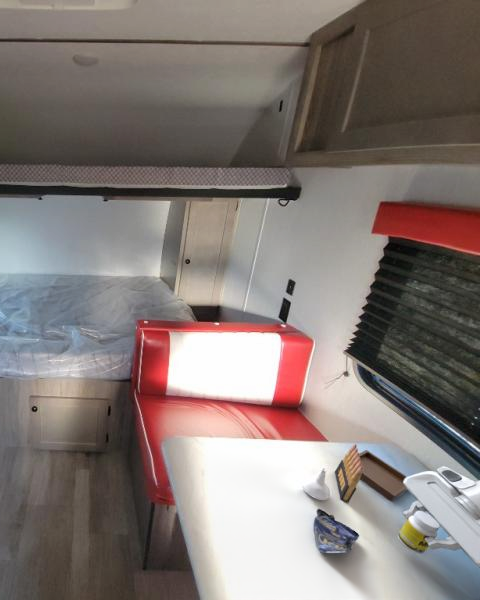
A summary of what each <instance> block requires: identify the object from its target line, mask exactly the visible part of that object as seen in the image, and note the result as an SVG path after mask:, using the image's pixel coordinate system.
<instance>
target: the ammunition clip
mask: <svg viewBox="0 0 480 600" xmlns="http://www.w3.org/2000/svg"><path fill="white" fill-rule="evenodd" d="M359 453H360V452H359V450H358V448H357V444H353V445H352V446H351V447H350V449H349V450H348V452H347V453H346V454H345V456H344V458H343V459H341V460H340V462H339V464H338V466H337V467H336V469H335V470H334V475H335V481H336V486H337V490H338V494H339V499H340V500H341V501H344V502H345V503H348V504H349V503H350V501H351V499H352V498H353V496H354V495H355V492H356V490H357V486H358V483H359V482H360V480H361V479H360V477H361V475H362V472H363V466H362V462H361V461H360V460H361V459H360V457H359Z"/></svg>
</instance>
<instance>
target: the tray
mask: <svg viewBox="0 0 480 600" xmlns="http://www.w3.org/2000/svg"><path fill="white" fill-rule="evenodd" d="M358 453H359V457H360V459H361V460H360V461H361V462H362V466H363V472H362V475H361V477H360V480H361V481H362V482H364V483H365V484H366V485H368V486H369V487H371V488H372V489H373V490H375V491H376V492H378V493H379V494H381V495H382V496H383V497H384V498H385V499H387V500H388V501H390V502H393V501H394V500H396V499H397V498H398V497H400V496H402V495H403V494H404V493H406V492H407V491H408V490H407V488H406V487H405V485H404V484H403V481H404V479H405V478H406V477H408V476H407V475H406V474H404V473H403V472H401V471H399V470H398V469H397V468H395V467H393V466H392V465H390V464H389V463H388V462H386V461H384V460H383V459H381V458H380V457H378V456H377V455H375V454H374V453H372V452H371V451H369V450H368V449H365V450H364V451H362V452H358Z"/></svg>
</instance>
